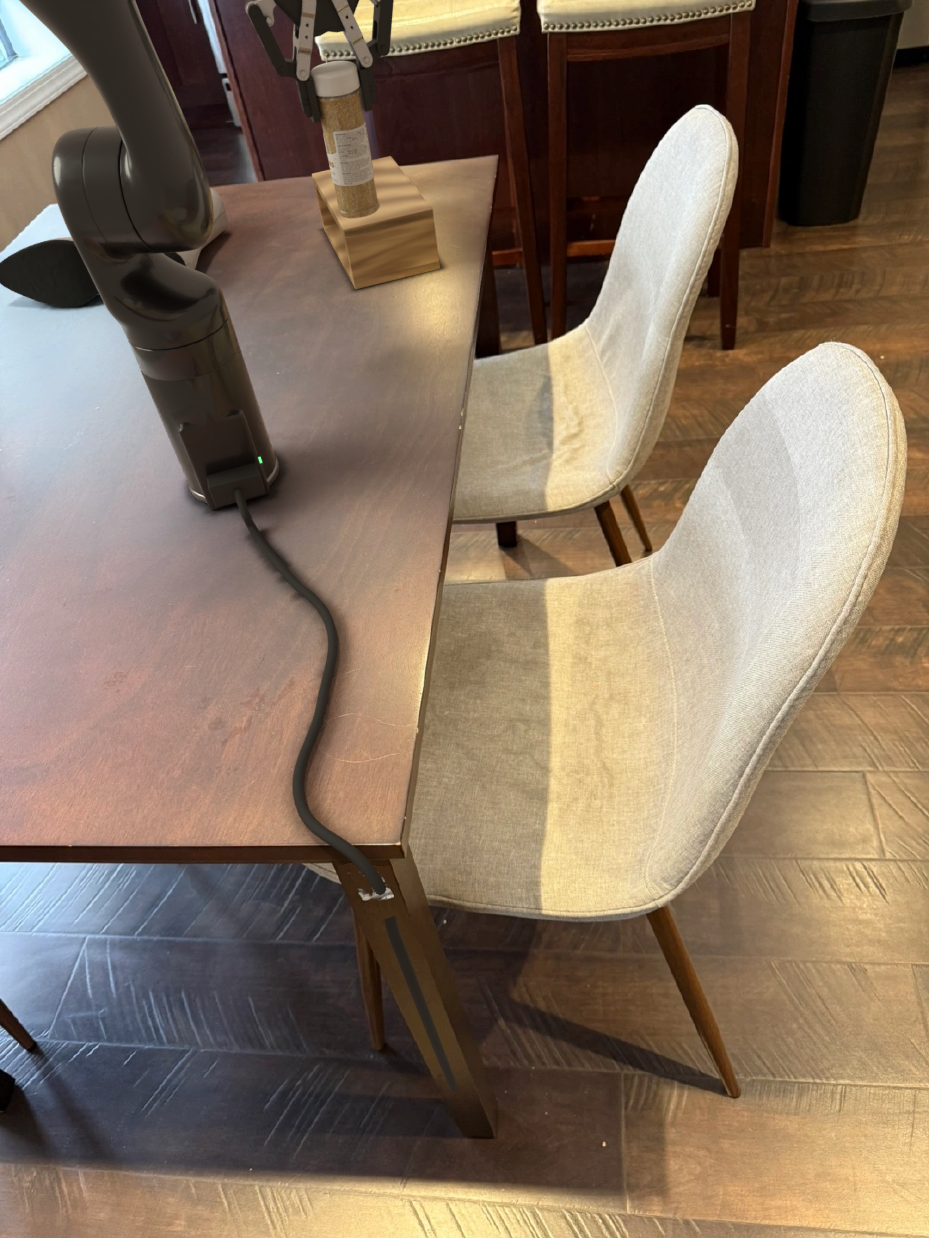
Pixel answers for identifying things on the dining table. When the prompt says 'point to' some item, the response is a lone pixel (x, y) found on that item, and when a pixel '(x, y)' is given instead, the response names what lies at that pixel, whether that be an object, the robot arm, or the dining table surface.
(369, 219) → the box
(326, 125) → the sprinkles bottle
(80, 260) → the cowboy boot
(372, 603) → the dining table surface
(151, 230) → the robot arm
